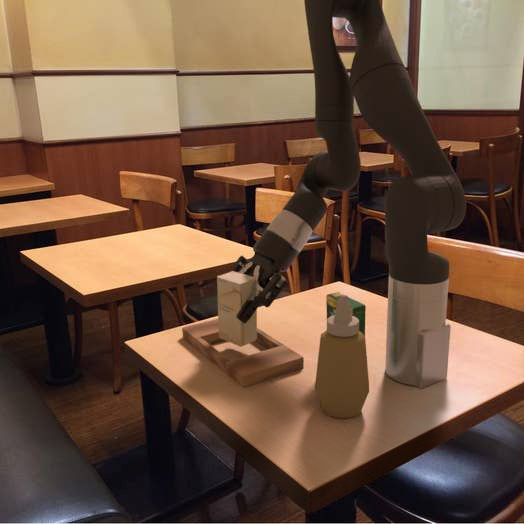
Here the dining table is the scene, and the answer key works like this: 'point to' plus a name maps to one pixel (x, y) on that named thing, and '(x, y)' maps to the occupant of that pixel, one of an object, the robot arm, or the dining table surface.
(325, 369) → the squeeze bottle
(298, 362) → the wooden frame
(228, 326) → the skincare box
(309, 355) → the dining table surface
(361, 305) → the coffee box
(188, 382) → the dining table surface
